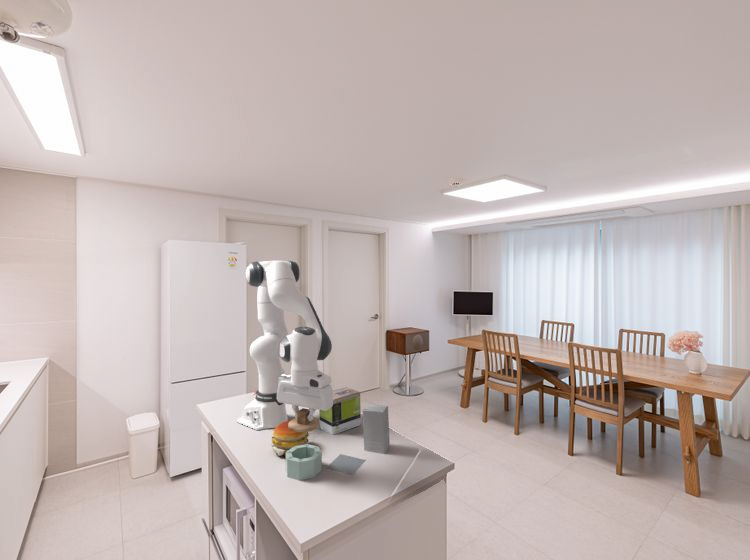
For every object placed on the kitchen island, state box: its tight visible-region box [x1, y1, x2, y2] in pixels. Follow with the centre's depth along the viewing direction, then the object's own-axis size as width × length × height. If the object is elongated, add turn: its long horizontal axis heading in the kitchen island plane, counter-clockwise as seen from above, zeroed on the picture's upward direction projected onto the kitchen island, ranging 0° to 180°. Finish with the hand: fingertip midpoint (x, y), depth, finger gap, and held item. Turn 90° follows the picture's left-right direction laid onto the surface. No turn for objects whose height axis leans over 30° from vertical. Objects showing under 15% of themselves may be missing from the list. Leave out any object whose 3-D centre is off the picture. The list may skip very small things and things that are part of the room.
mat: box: [325, 453, 367, 476], centre depth 118 cm, size 10×10×1 cm
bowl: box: [285, 443, 323, 481], centre depth 114 cm, size 11×11×6 cm
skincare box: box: [362, 403, 391, 455], centre depth 128 cm, size 8×7×16 cm
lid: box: [288, 407, 320, 433], centre depth 114 cm, size 10×10×5 cm
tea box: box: [319, 386, 362, 436], centre depth 148 cm, size 15×10×15 cm
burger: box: [271, 420, 310, 457], centre depth 128 cm, size 14×14×10 cm
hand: (304, 419), depth 114 cm, fingers closed on lid, 3 cm apart
